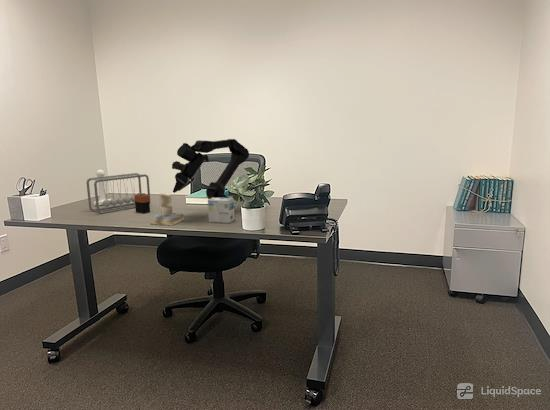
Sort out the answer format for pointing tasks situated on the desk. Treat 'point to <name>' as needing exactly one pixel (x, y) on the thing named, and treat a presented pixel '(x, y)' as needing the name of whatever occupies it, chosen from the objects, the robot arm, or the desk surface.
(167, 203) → the birch snap block
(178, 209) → the desk surface
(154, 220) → the foundation plinth
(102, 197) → the joystick
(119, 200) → the newton's cradle
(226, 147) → the robot arm
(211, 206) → the light bulb box
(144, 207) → the battery
